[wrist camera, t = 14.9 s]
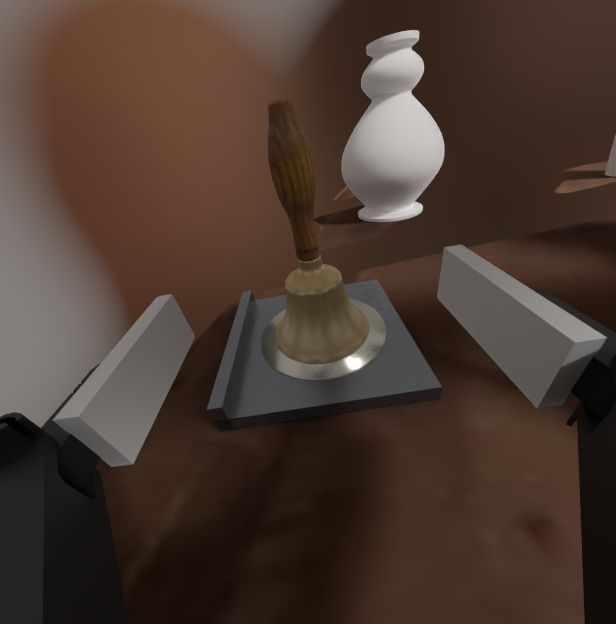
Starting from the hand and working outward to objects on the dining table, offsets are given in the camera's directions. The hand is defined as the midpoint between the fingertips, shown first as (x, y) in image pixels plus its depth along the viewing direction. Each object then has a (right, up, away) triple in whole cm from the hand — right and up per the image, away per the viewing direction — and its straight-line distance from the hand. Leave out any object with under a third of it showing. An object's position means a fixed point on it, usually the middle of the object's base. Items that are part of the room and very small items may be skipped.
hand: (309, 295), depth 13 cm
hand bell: (+1, -3, +10) cm, 11 cm away
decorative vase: (+17, +19, +40) cm, 47 cm away
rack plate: (+1, -4, +11) cm, 11 cm away
